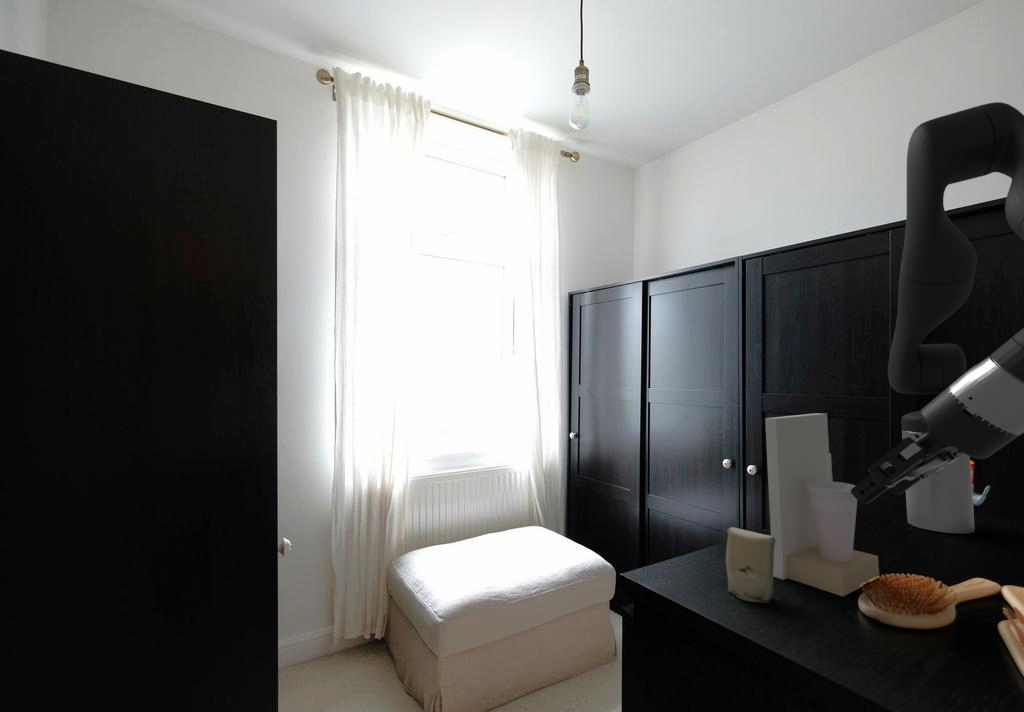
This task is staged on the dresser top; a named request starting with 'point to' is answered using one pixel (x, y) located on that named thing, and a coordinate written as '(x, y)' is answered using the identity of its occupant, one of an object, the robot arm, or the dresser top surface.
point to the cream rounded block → (750, 565)
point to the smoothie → (833, 516)
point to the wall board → (805, 506)
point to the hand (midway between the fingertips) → (874, 493)
